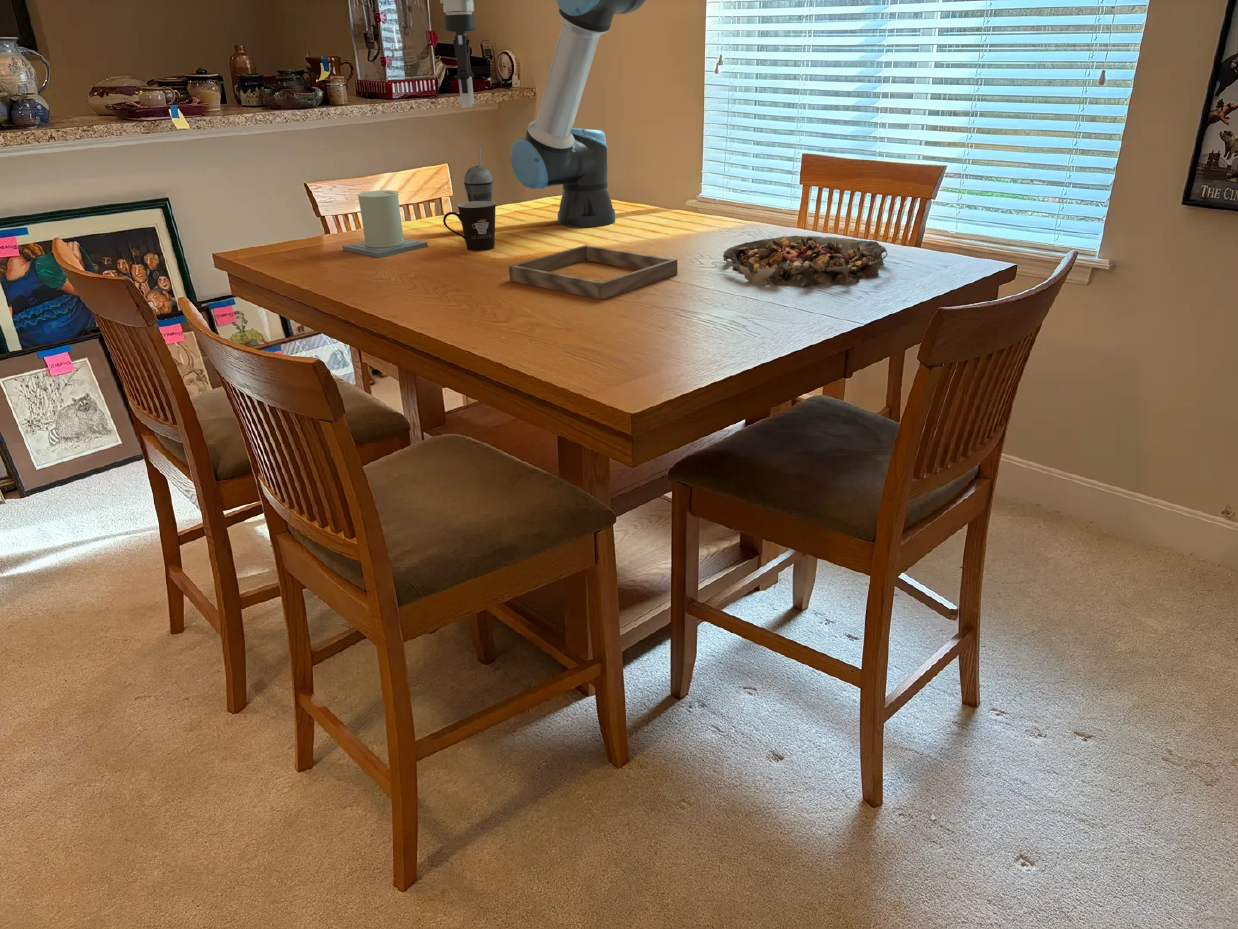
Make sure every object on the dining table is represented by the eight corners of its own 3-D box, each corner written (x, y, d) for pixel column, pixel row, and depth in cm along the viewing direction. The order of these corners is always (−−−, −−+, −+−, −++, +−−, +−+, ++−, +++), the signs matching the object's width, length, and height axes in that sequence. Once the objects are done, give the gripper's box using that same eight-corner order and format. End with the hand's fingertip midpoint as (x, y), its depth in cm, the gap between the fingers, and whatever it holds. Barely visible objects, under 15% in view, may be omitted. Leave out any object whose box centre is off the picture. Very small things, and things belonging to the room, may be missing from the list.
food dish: (800, 305, 164) (801, 263, 161) (689, 274, 190) (688, 237, 186) (928, 269, 181) (931, 230, 178) (811, 245, 206) (812, 210, 203)
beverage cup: (465, 228, 232) (456, 146, 223) (492, 225, 235) (484, 144, 226) (473, 233, 226) (464, 149, 217) (500, 230, 229) (493, 147, 220)
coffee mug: (502, 243, 214) (499, 200, 209) (494, 251, 206) (490, 207, 202) (455, 244, 215) (450, 201, 211) (445, 252, 207) (440, 207, 203)
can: (399, 247, 208) (392, 193, 203) (360, 248, 208) (352, 194, 203) (408, 238, 217) (402, 187, 211) (370, 239, 217) (363, 188, 212)
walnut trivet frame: (677, 274, 183) (677, 259, 181) (602, 299, 167) (602, 283, 166) (586, 258, 197) (585, 244, 196) (509, 280, 182) (508, 265, 180)
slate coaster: (427, 246, 214) (427, 241, 213) (378, 257, 204) (378, 252, 204) (391, 239, 222) (391, 235, 221) (343, 250, 212) (342, 245, 212)
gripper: (447, 15, 235) (455, 102, 244) (440, 13, 212) (450, 109, 221) (475, 14, 235) (483, 101, 244) (472, 12, 213) (481, 108, 222)
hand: (467, 105), depth 233 cm, fingers open, 13 cm apart
